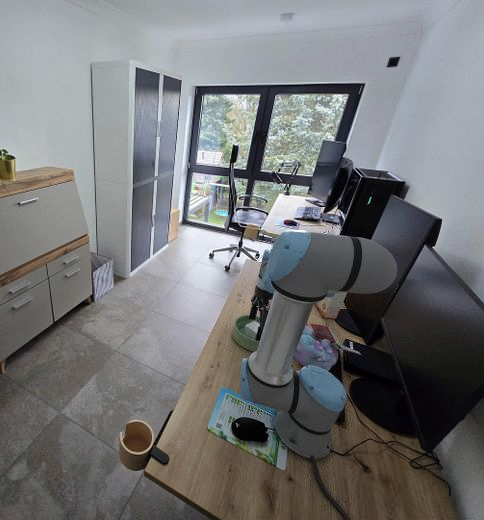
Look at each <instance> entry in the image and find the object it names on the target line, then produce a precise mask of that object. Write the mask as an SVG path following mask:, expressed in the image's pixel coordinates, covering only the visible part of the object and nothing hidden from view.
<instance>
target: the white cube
mask: <svg viewBox="0 0 484 520" xmlns="http://www.w3.org/2000/svg"><path fill="white" fill-rule="evenodd" d="M258 327H260V324H259V323H257V322H256V321H253V322H251V323H249V324H247V325H245V329H244V333H243V335H244V336H246V337H248V338H250V339H253V340H255V338H256V334H257V330H258Z"/></svg>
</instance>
